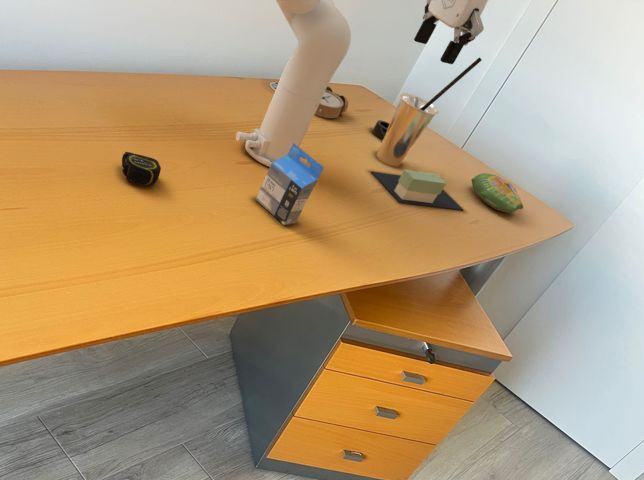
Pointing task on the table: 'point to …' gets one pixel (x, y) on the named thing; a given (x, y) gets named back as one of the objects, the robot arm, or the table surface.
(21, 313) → the table surface
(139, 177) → the tape measure
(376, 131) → the duct tape
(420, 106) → the metal cup with straw
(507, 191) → the educational model
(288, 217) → the ink cartridge box
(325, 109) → the alarm clock
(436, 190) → the green and beige block
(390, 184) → the desk mat
